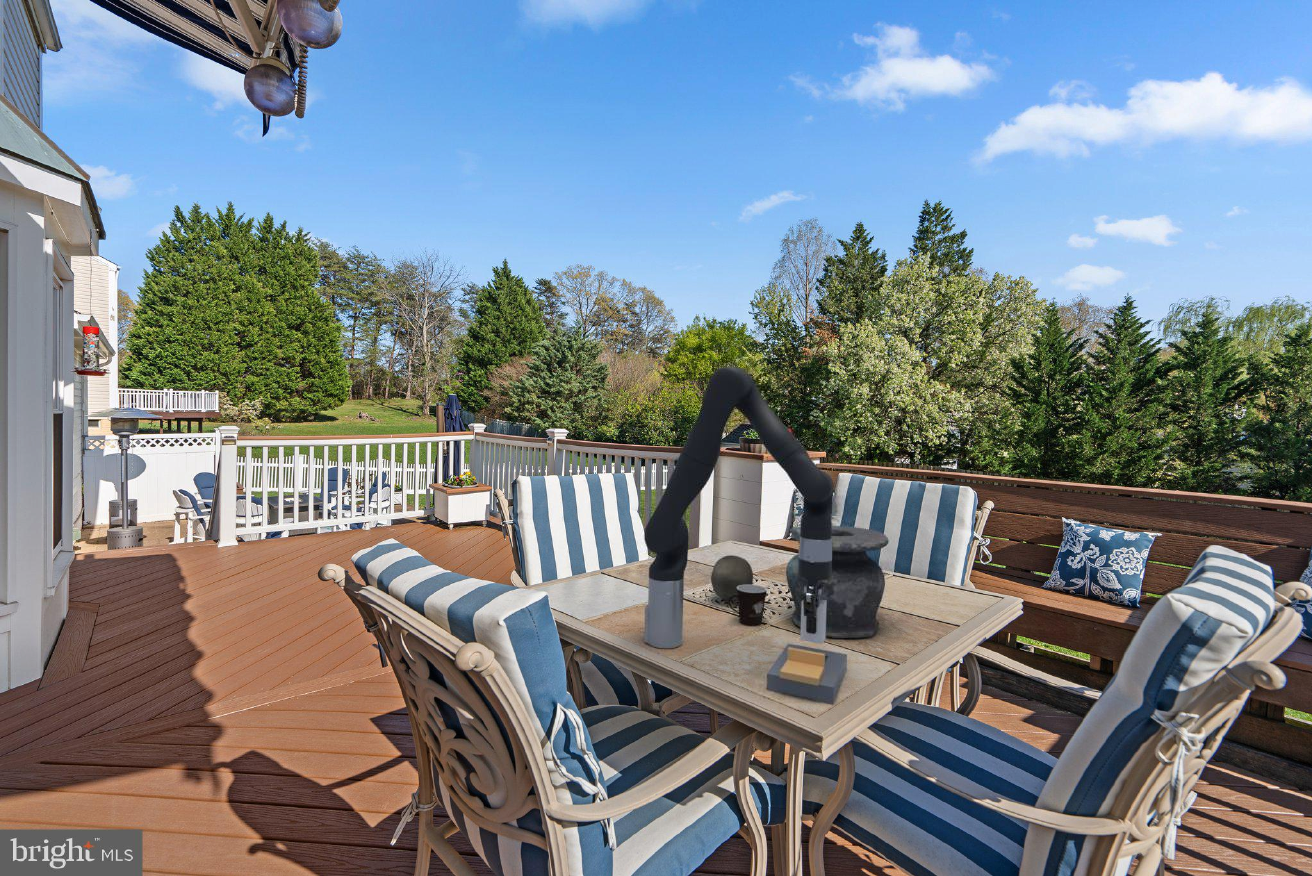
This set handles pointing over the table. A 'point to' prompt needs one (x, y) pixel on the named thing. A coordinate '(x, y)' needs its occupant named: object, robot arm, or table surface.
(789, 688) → the socket plate
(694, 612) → the table surface
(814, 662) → the tan l-shaped block
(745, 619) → the coffee mug
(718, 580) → the grey stone ball
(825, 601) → the plug
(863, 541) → the clay pot
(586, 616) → the table surface
